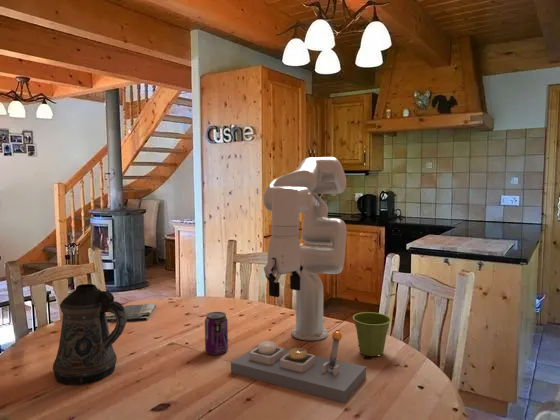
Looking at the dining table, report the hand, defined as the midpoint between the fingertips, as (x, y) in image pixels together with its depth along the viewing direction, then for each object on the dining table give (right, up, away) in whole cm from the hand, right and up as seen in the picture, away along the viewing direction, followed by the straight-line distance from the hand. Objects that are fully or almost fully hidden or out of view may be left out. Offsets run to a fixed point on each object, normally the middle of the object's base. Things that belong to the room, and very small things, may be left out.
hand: (285, 292), depth 122 cm
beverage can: (-21, -22, +17) cm, 35 cm away
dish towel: (-62, -20, +55) cm, 85 cm away
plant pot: (+27, -22, +15) cm, 38 cm away
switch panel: (+4, -23, 0) cm, 23 cm away
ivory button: (-5, -18, +4) cm, 19 cm away
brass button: (+3, -18, -1) cm, 18 cm away
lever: (+12, -20, -5) cm, 24 cm away
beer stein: (-55, -23, +2) cm, 60 cm away
